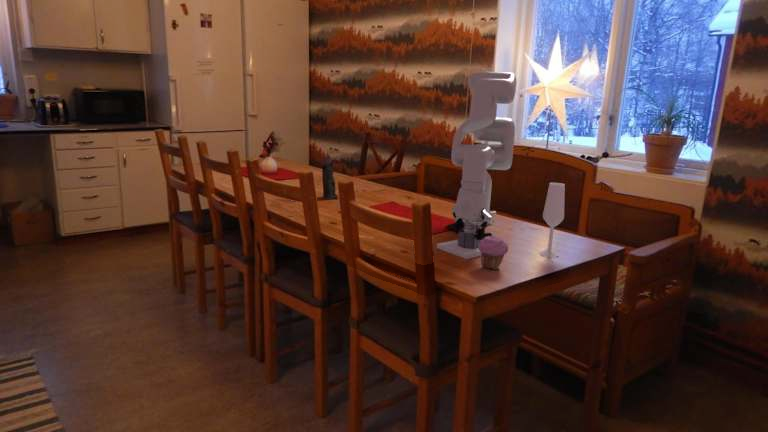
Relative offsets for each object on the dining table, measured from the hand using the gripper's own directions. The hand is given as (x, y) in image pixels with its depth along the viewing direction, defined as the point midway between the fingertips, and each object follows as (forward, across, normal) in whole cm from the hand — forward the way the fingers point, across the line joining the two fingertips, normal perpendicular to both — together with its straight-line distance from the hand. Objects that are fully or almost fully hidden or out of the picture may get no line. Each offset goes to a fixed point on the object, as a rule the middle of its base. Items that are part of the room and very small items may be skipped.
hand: (469, 236), depth 180 cm
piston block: (+5, 0, 0) cm, 5 cm away
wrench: (+5, -10, +13) cm, 17 cm away
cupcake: (+5, +17, -7) cm, 19 cm away
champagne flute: (+5, +18, +20) cm, 27 cm away
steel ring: (+3, 0, 0) cm, 3 cm away
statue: (+5, -92, +2) cm, 92 cm away
